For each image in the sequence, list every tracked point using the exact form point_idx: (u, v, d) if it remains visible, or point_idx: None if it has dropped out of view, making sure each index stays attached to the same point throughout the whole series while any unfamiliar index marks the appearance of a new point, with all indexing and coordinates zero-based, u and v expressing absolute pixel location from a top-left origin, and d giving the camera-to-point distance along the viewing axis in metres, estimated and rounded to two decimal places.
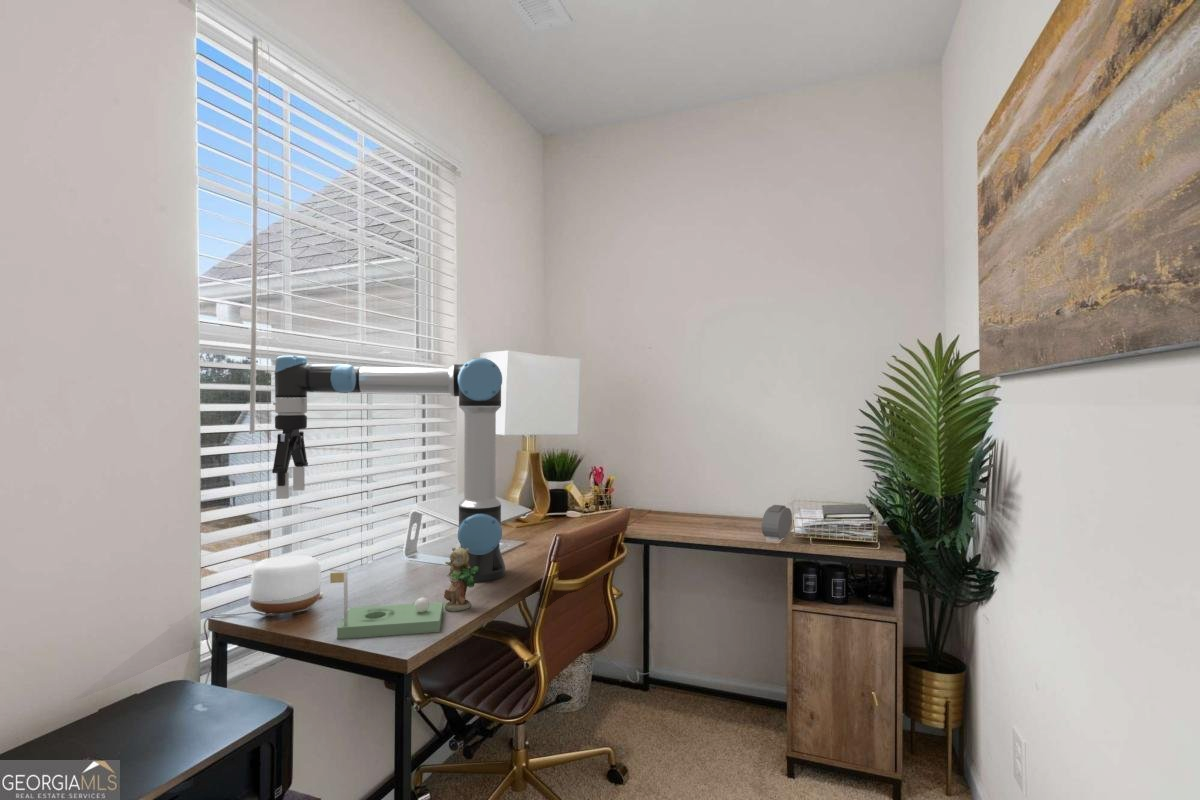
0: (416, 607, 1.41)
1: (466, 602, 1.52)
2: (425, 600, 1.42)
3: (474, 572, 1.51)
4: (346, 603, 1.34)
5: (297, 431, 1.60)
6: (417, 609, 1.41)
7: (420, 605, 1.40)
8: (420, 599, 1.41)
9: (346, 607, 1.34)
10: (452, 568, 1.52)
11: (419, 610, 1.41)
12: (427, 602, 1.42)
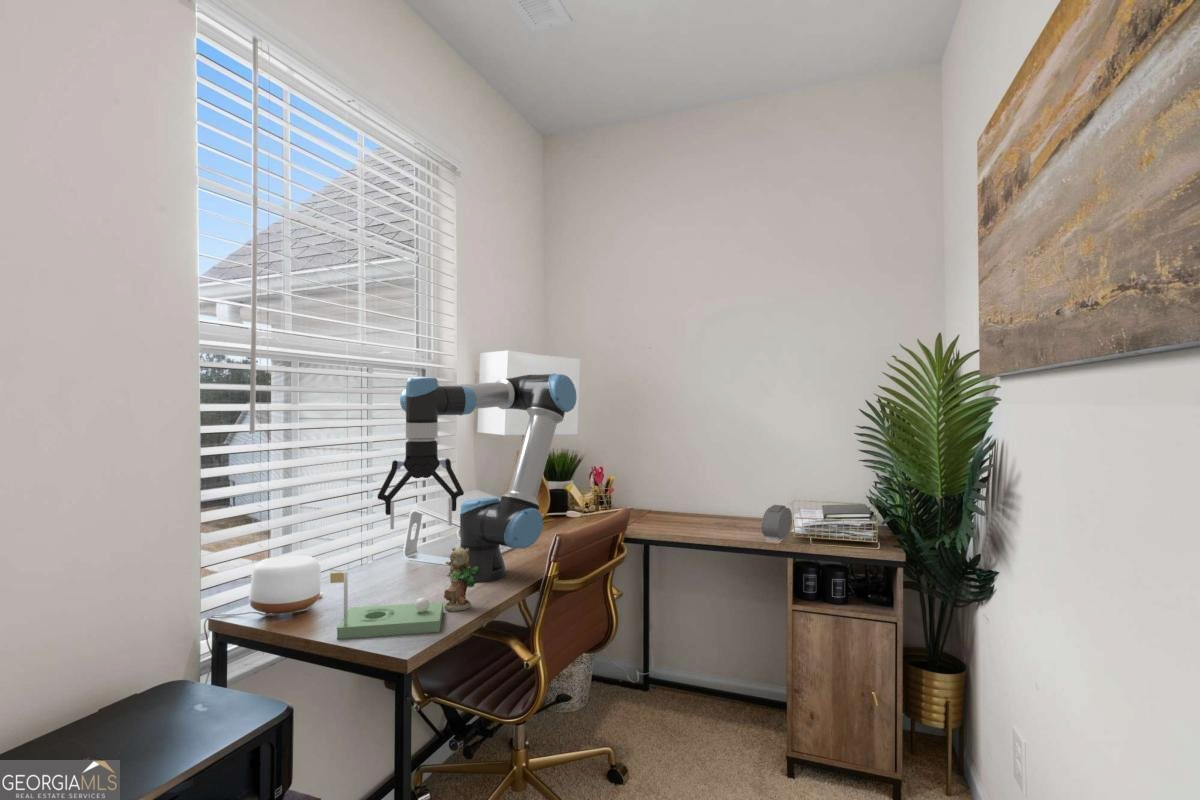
0: (416, 607, 1.41)
1: (466, 602, 1.52)
2: (425, 600, 1.42)
3: (474, 572, 1.51)
4: (346, 603, 1.34)
5: (428, 459, 1.46)
6: (417, 609, 1.41)
7: (420, 605, 1.40)
8: (420, 599, 1.41)
9: (346, 607, 1.34)
10: (452, 568, 1.52)
11: (419, 610, 1.41)
12: (427, 602, 1.42)
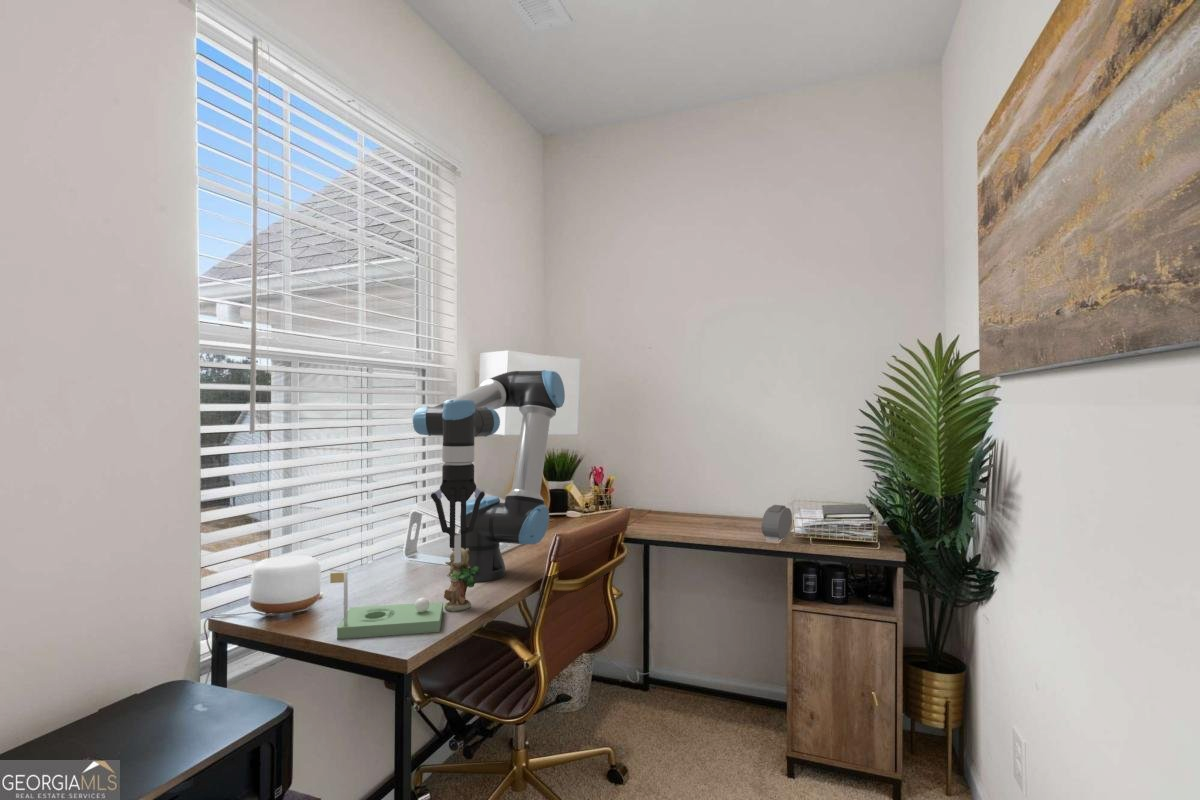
0: (416, 607, 1.41)
1: (466, 602, 1.52)
2: (425, 600, 1.42)
3: (474, 572, 1.51)
4: (346, 603, 1.34)
5: (469, 480, 1.43)
6: (417, 609, 1.41)
7: (420, 605, 1.40)
8: (420, 599, 1.41)
9: (346, 607, 1.34)
10: (452, 568, 1.52)
11: (419, 610, 1.41)
12: (427, 602, 1.42)
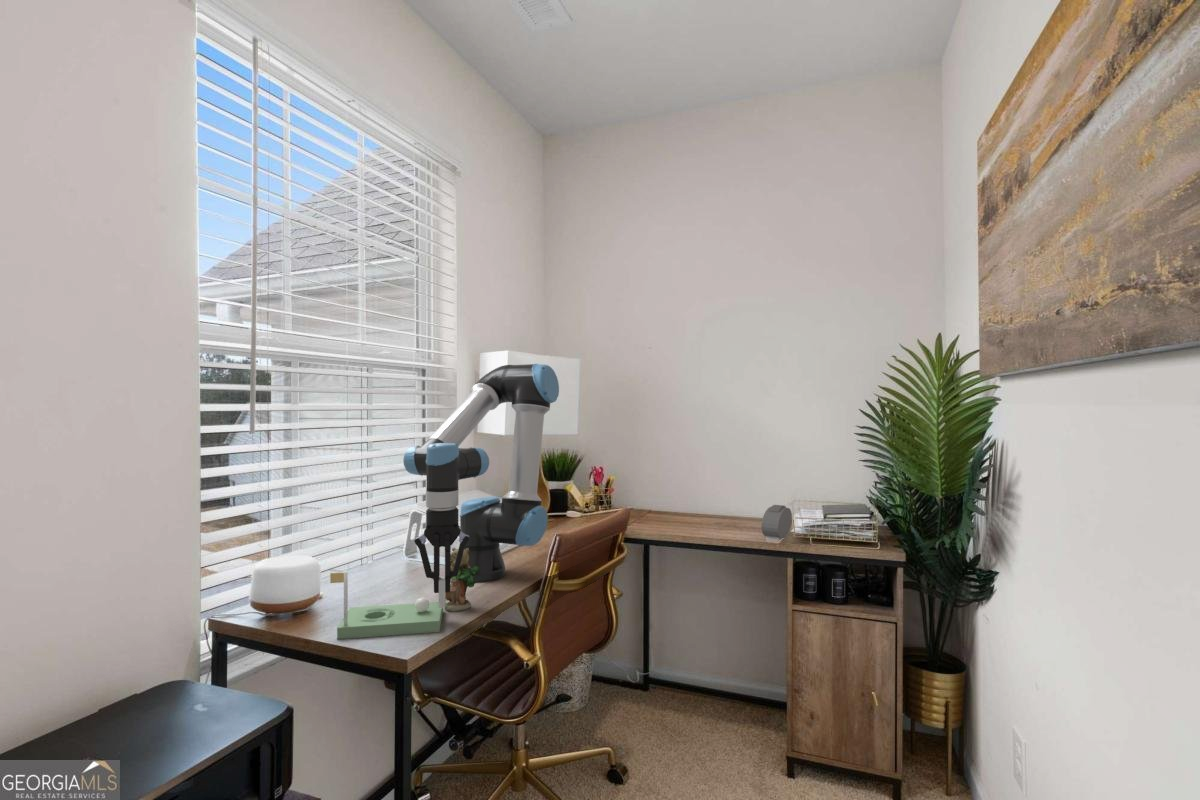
0: (416, 607, 1.41)
1: (466, 602, 1.52)
2: (425, 600, 1.42)
3: (474, 572, 1.51)
4: (346, 603, 1.34)
5: (453, 524, 1.42)
6: (417, 609, 1.41)
7: (420, 605, 1.40)
8: (420, 599, 1.41)
9: (346, 607, 1.34)
10: (452, 568, 1.52)
11: (419, 610, 1.41)
12: (427, 602, 1.42)
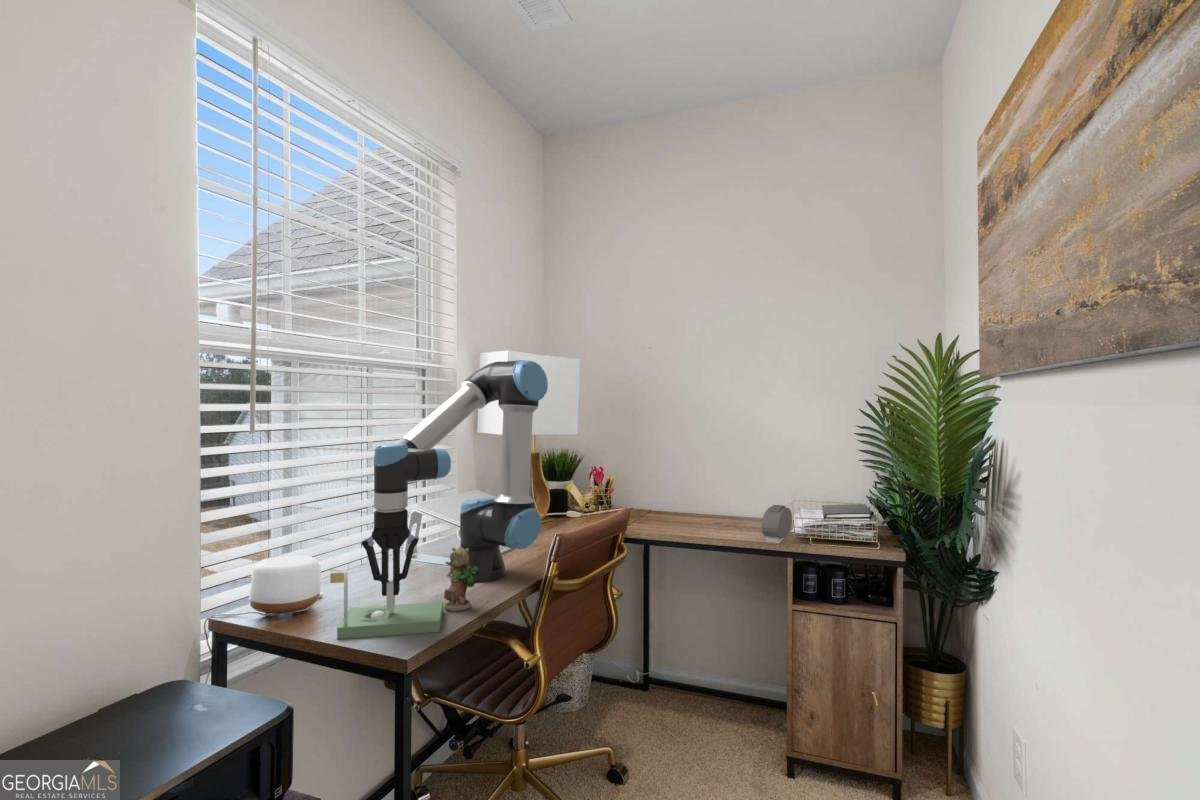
0: (373, 616, 1.39)
1: (466, 602, 1.52)
2: (383, 612, 1.41)
3: (474, 572, 1.51)
4: (346, 603, 1.34)
5: (402, 526, 1.40)
6: (374, 618, 1.39)
7: (378, 613, 1.40)
8: (378, 610, 1.41)
9: (346, 607, 1.34)
10: (452, 568, 1.52)
11: None
12: (384, 614, 1.41)
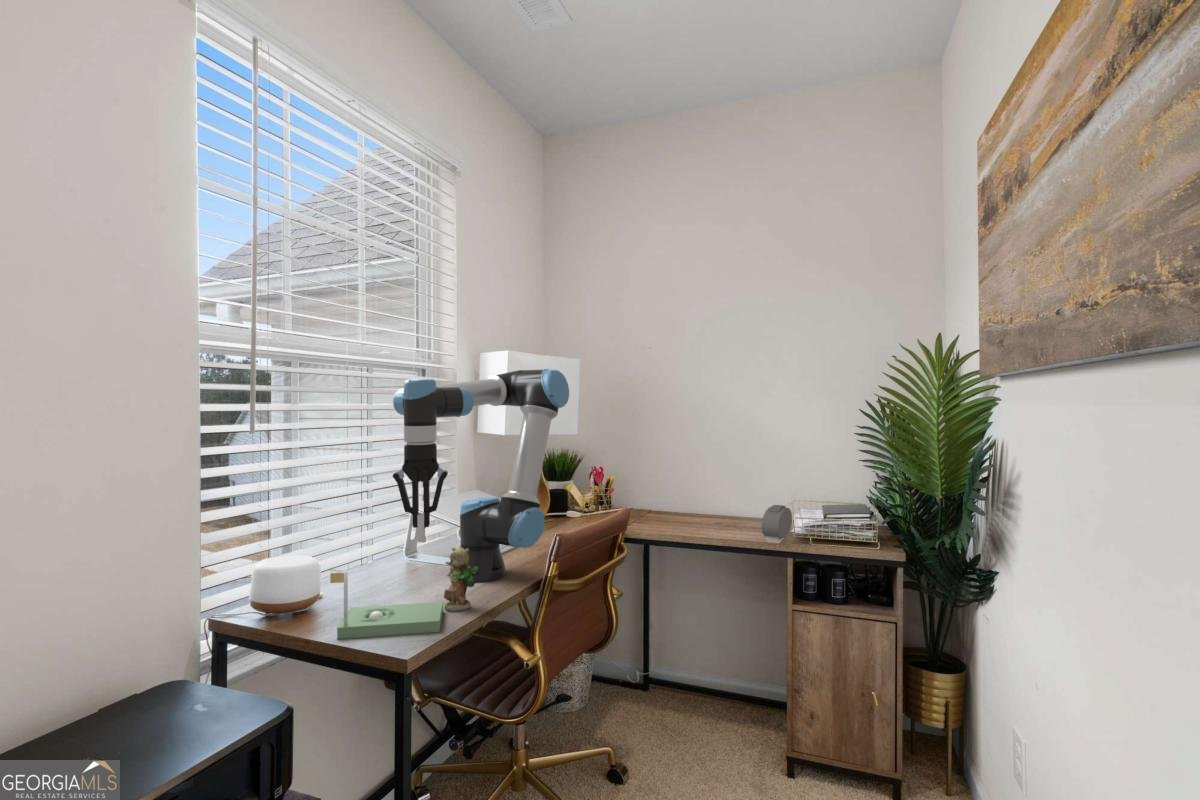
0: (371, 618, 1.39)
1: (466, 602, 1.52)
2: None
3: (474, 572, 1.51)
4: (346, 603, 1.34)
5: (431, 459, 1.43)
6: None
7: (375, 614, 1.39)
8: (374, 611, 1.40)
9: (346, 607, 1.34)
10: (452, 568, 1.52)
11: None
12: (382, 613, 1.40)
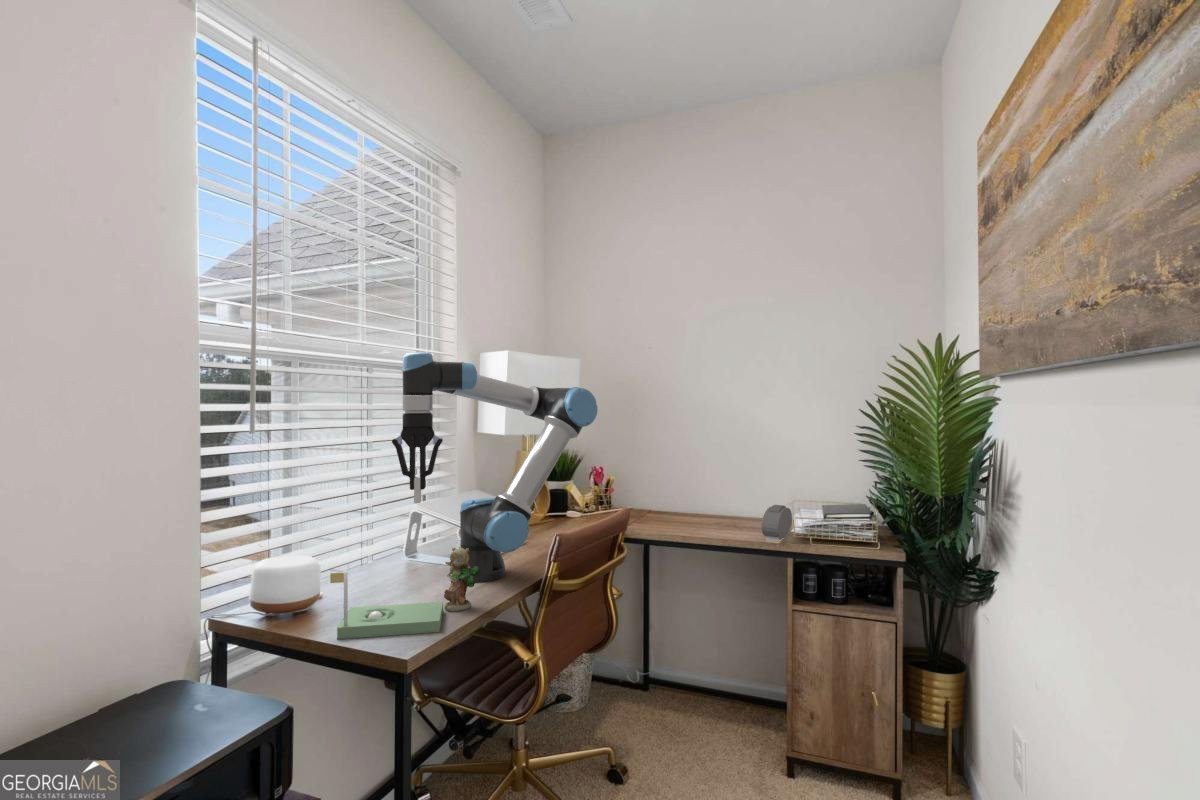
0: None
1: (466, 602, 1.52)
2: (378, 611, 1.40)
3: (474, 572, 1.51)
4: (346, 603, 1.34)
5: (427, 427, 1.55)
6: None
7: (373, 615, 1.39)
8: (372, 612, 1.40)
9: (346, 607, 1.34)
10: (452, 568, 1.52)
11: None
12: (380, 613, 1.40)
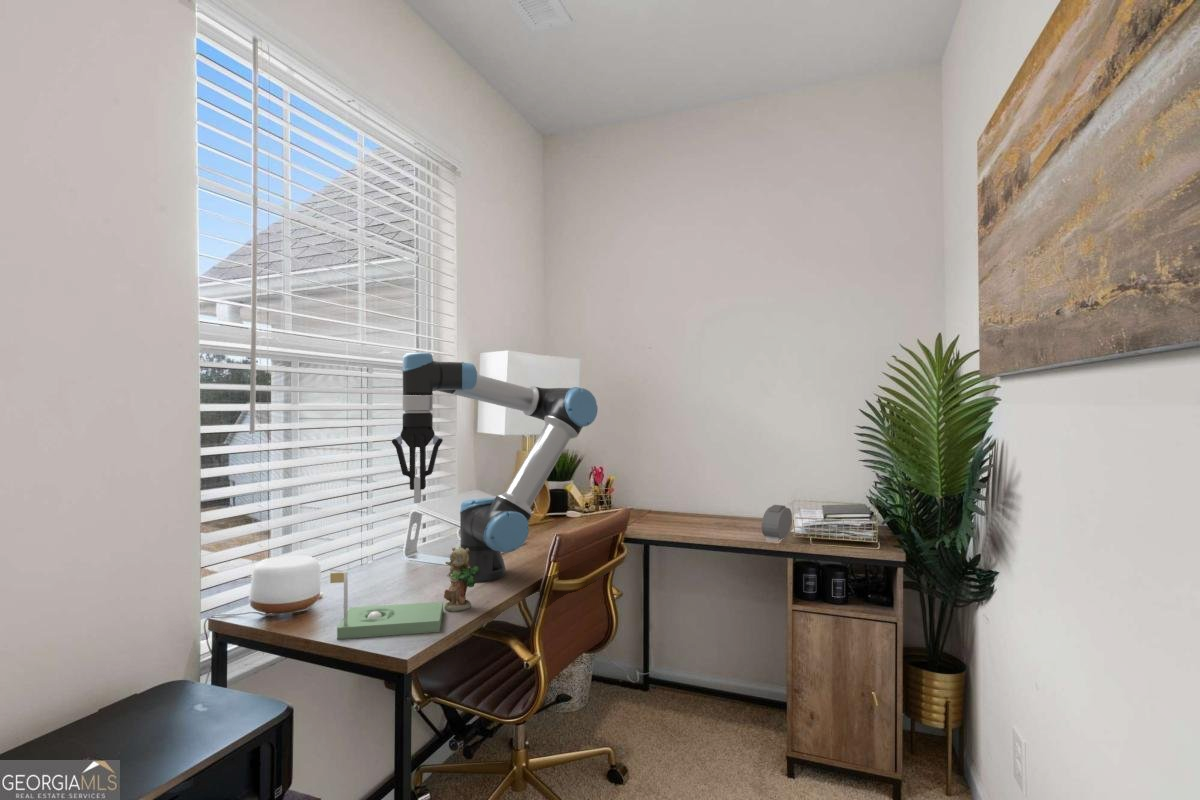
0: None
1: (466, 602, 1.52)
2: (377, 611, 1.40)
3: (474, 572, 1.51)
4: (346, 603, 1.34)
5: (427, 427, 1.55)
6: None
7: (372, 616, 1.39)
8: (371, 612, 1.40)
9: (346, 607, 1.34)
10: (452, 568, 1.52)
11: None
12: (379, 613, 1.40)
